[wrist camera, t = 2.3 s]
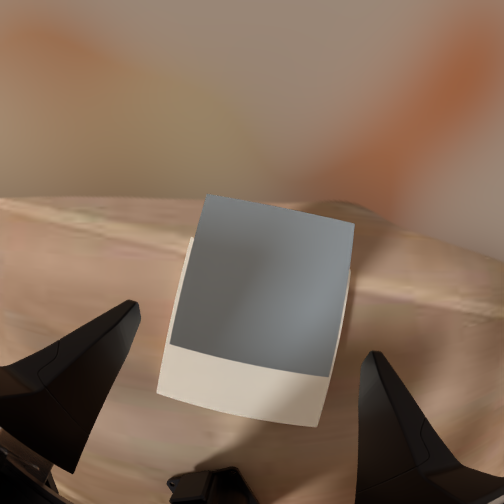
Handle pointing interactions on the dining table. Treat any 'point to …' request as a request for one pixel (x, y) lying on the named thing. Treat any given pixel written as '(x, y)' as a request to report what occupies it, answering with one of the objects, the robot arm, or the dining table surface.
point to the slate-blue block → (265, 286)
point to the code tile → (241, 382)
